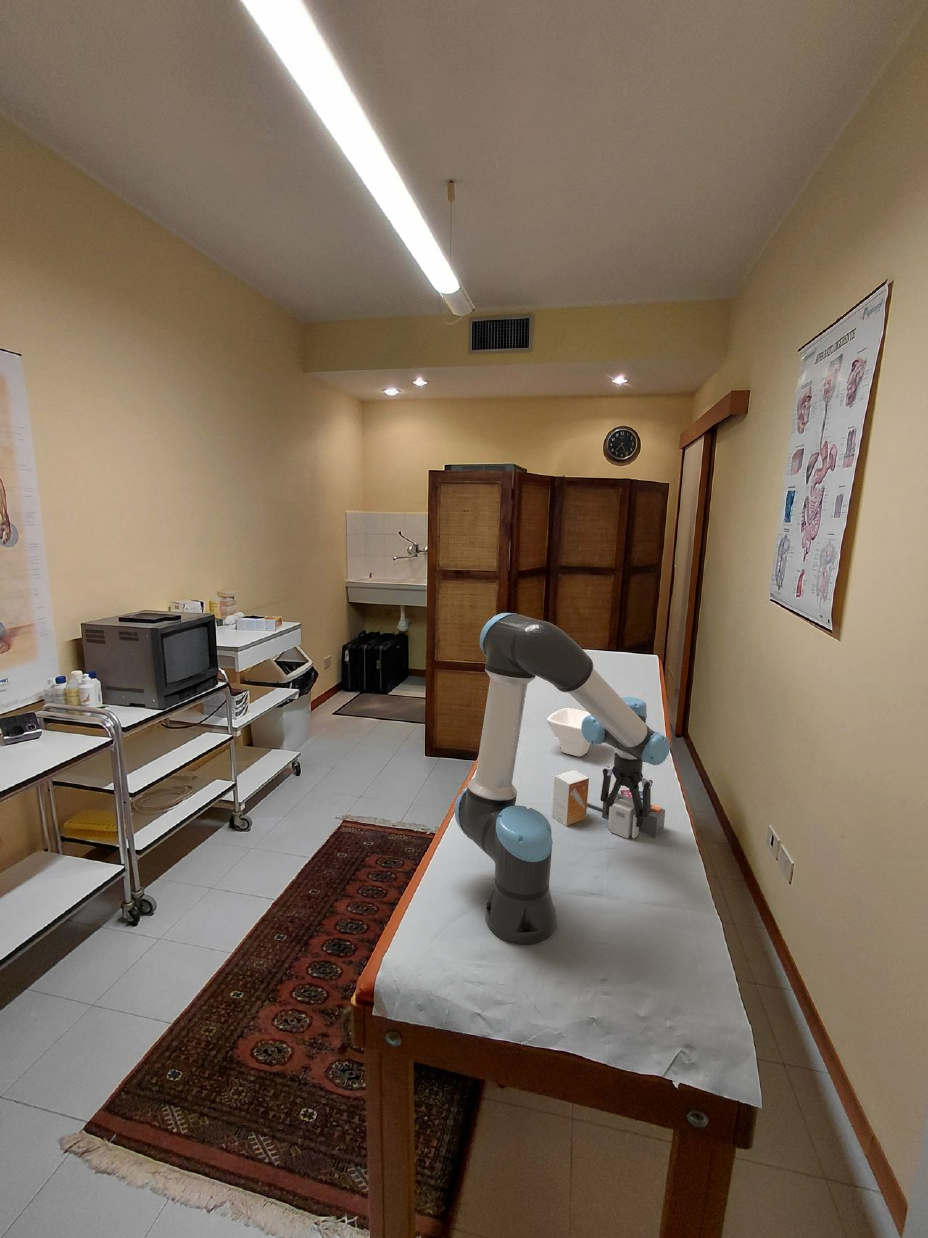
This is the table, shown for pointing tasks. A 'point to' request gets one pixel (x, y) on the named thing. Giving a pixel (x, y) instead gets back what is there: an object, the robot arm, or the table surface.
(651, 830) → the power strip
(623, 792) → the smartphone
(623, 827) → the block
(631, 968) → the table surface
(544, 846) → the robot arm
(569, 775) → the small box
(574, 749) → the bowl
